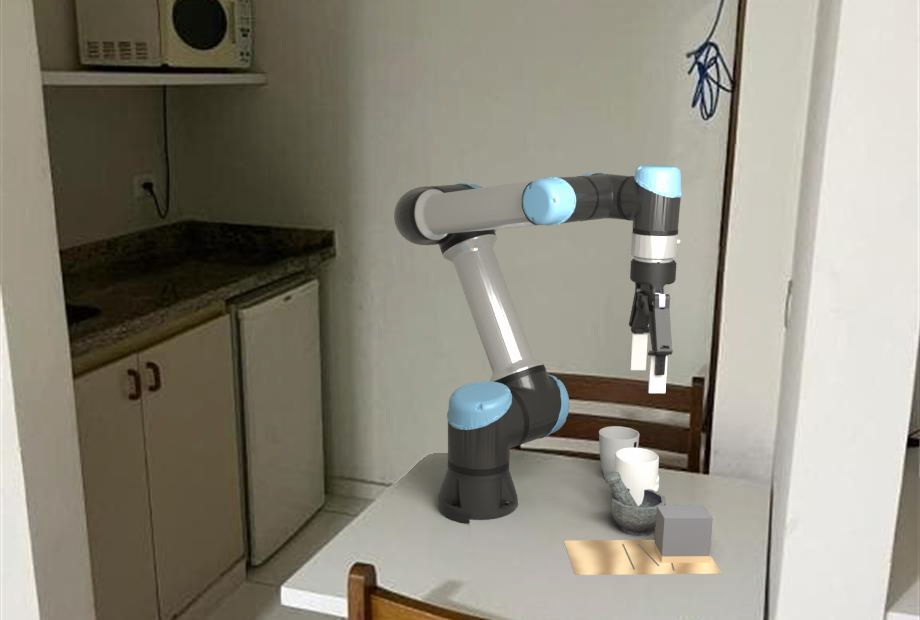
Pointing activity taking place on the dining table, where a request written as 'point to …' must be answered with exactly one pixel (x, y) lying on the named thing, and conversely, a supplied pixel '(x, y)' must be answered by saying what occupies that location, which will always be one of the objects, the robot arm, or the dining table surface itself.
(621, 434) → the cup
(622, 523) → the mortar and pestle
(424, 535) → the dining table surface
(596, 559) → the board
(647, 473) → the mug
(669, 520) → the block
